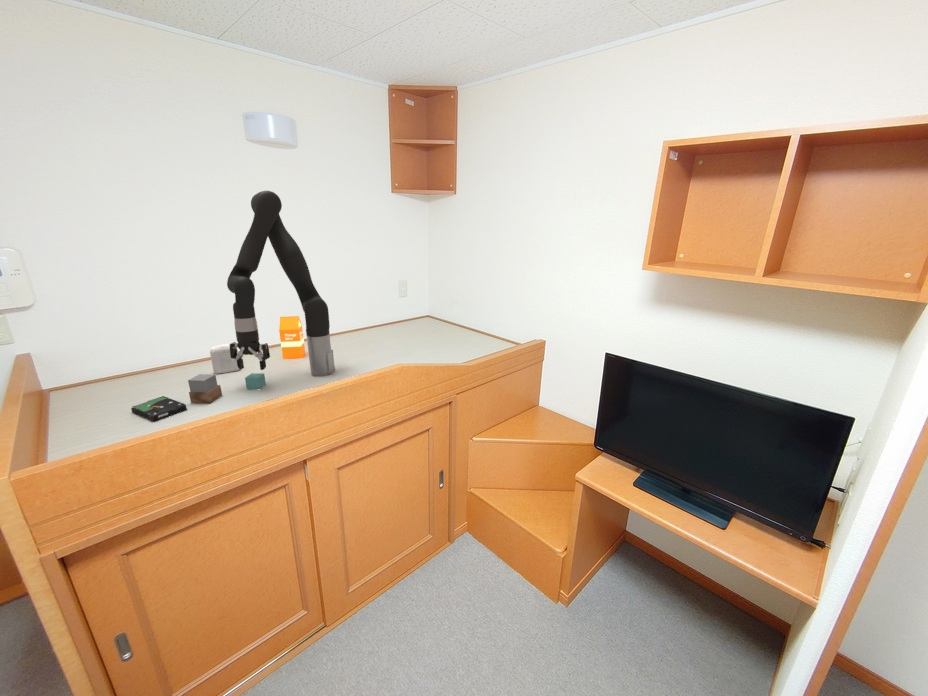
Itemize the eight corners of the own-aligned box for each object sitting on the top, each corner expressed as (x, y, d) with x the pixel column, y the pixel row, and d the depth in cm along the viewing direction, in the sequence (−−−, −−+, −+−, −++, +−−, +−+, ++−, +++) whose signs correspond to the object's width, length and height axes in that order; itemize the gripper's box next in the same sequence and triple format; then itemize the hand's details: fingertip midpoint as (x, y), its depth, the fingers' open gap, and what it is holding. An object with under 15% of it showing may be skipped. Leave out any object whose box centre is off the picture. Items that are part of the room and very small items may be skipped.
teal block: (266, 384, 158) (264, 373, 157) (259, 389, 153) (257, 377, 152) (253, 384, 158) (251, 373, 157) (246, 389, 154) (244, 377, 152)
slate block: (217, 385, 146) (215, 374, 145) (206, 392, 140) (204, 380, 139) (201, 385, 146) (199, 374, 145) (190, 392, 140) (187, 380, 139)
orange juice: (302, 358, 190) (297, 317, 184) (282, 359, 189) (277, 318, 183) (305, 353, 198) (300, 314, 192) (287, 354, 196) (281, 315, 190)
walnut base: (222, 396, 148) (220, 385, 147) (210, 404, 141) (208, 392, 140) (204, 395, 148) (201, 384, 147) (191, 403, 141) (188, 392, 140)
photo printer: (240, 367, 177) (235, 341, 173) (241, 370, 174) (236, 343, 170) (213, 372, 172) (208, 345, 168) (214, 375, 168) (208, 347, 165)
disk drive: (188, 411, 137) (164, 402, 143) (186, 404, 136) (163, 395, 142) (154, 424, 128) (131, 413, 134) (152, 416, 127) (129, 406, 133)
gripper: (270, 327, 152) (274, 366, 157) (234, 325, 153) (239, 365, 158) (259, 331, 145) (265, 372, 150) (222, 330, 146) (228, 371, 150)
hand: (252, 368), depth 154 cm, fingers open, 8 cm apart
